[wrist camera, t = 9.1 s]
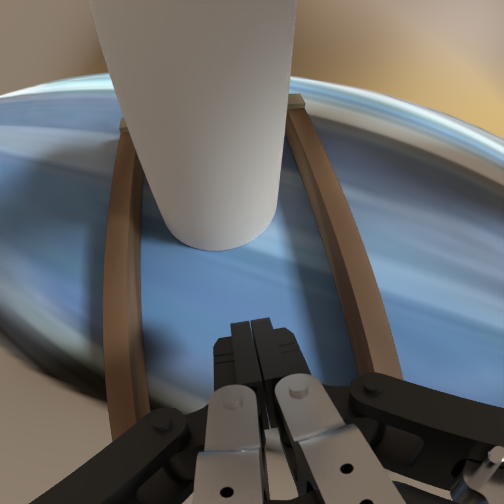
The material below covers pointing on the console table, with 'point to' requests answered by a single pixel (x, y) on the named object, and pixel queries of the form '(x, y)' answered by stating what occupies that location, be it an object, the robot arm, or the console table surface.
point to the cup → (204, 107)
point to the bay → (129, 278)
